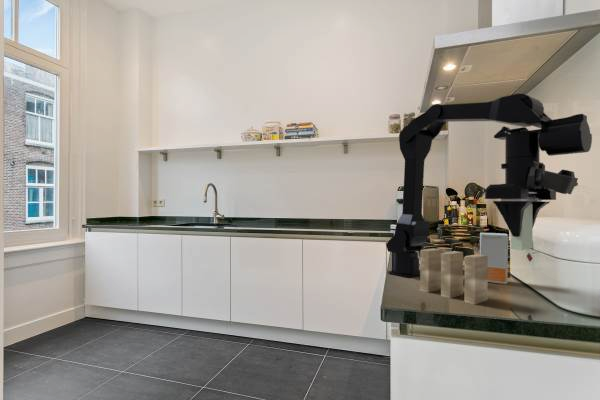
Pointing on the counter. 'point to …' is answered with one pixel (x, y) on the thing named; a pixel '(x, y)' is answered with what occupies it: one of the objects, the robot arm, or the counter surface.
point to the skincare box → (495, 256)
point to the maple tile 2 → (451, 274)
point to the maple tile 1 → (430, 270)
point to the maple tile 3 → (475, 279)
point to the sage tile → (524, 231)
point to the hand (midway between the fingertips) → (521, 235)
